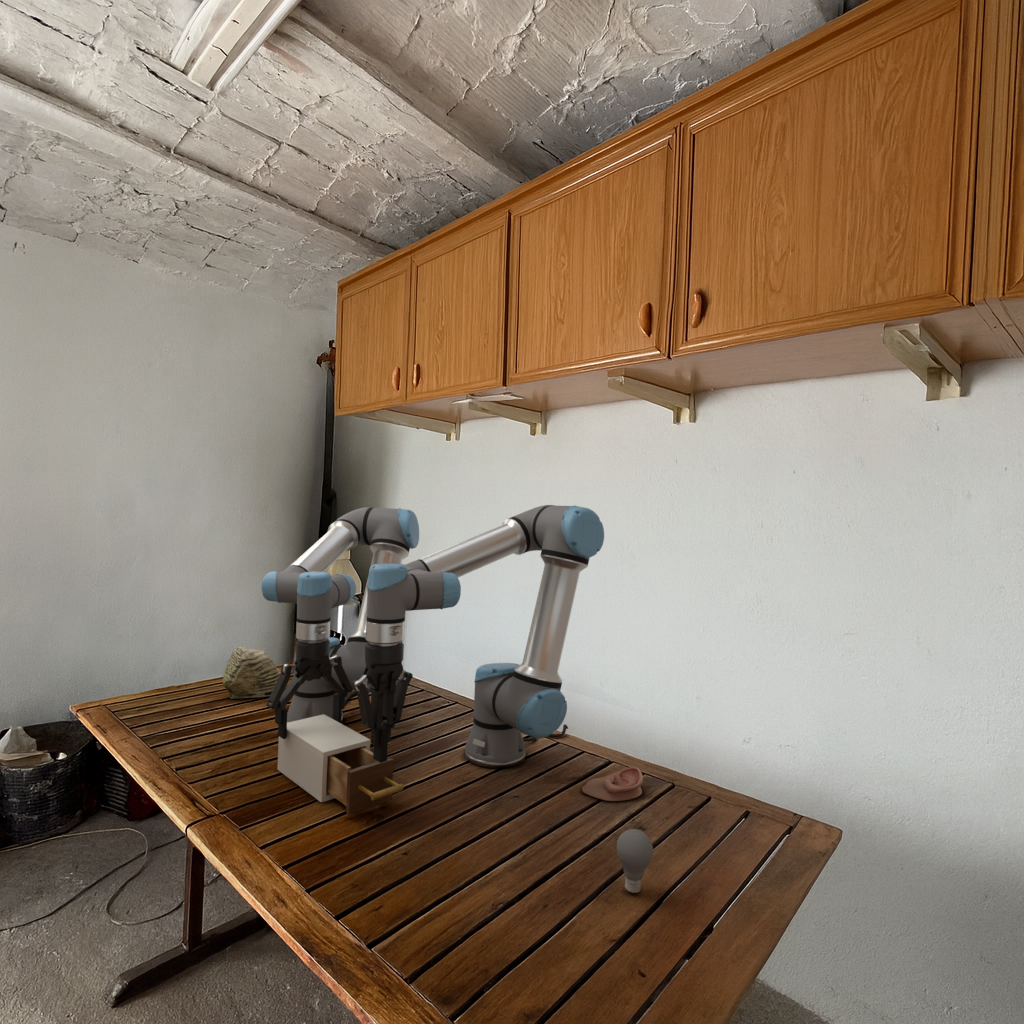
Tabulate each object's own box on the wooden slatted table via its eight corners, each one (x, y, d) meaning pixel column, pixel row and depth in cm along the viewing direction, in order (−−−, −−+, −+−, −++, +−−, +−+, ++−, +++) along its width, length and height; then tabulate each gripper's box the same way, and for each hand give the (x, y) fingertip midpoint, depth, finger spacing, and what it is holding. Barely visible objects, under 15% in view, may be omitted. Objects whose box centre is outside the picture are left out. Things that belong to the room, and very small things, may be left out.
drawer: (409, 810, 128) (411, 769, 127) (365, 827, 120) (367, 783, 120) (344, 768, 145) (345, 732, 145) (302, 781, 138) (304, 742, 138)
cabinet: (368, 786, 139) (370, 739, 139) (321, 802, 131) (323, 752, 131) (322, 757, 154) (323, 714, 154) (277, 769, 146) (278, 724, 146)
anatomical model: (581, 779, 138) (585, 758, 149) (580, 797, 138) (585, 775, 149) (643, 787, 135) (643, 766, 147) (642, 806, 136) (642, 783, 147)
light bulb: (610, 879, 108) (613, 822, 108) (644, 879, 109) (647, 822, 109) (619, 902, 102) (622, 840, 102) (655, 901, 103) (658, 840, 103)
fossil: (218, 695, 195) (220, 647, 195) (278, 685, 208) (279, 640, 207) (228, 703, 189) (230, 653, 188) (289, 692, 201) (290, 645, 201)
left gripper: (267, 650, 135) (264, 748, 136) (368, 635, 153) (365, 722, 153) (252, 643, 140) (250, 738, 141) (352, 629, 158) (349, 713, 159)
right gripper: (366, 650, 119) (361, 775, 119) (422, 641, 128) (417, 757, 128) (345, 642, 124) (341, 762, 124) (401, 634, 133) (396, 745, 133)
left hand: (310, 729), depth 147 cm, fingers open, 13 cm apart
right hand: (380, 759), depth 126 cm, fingers closed
